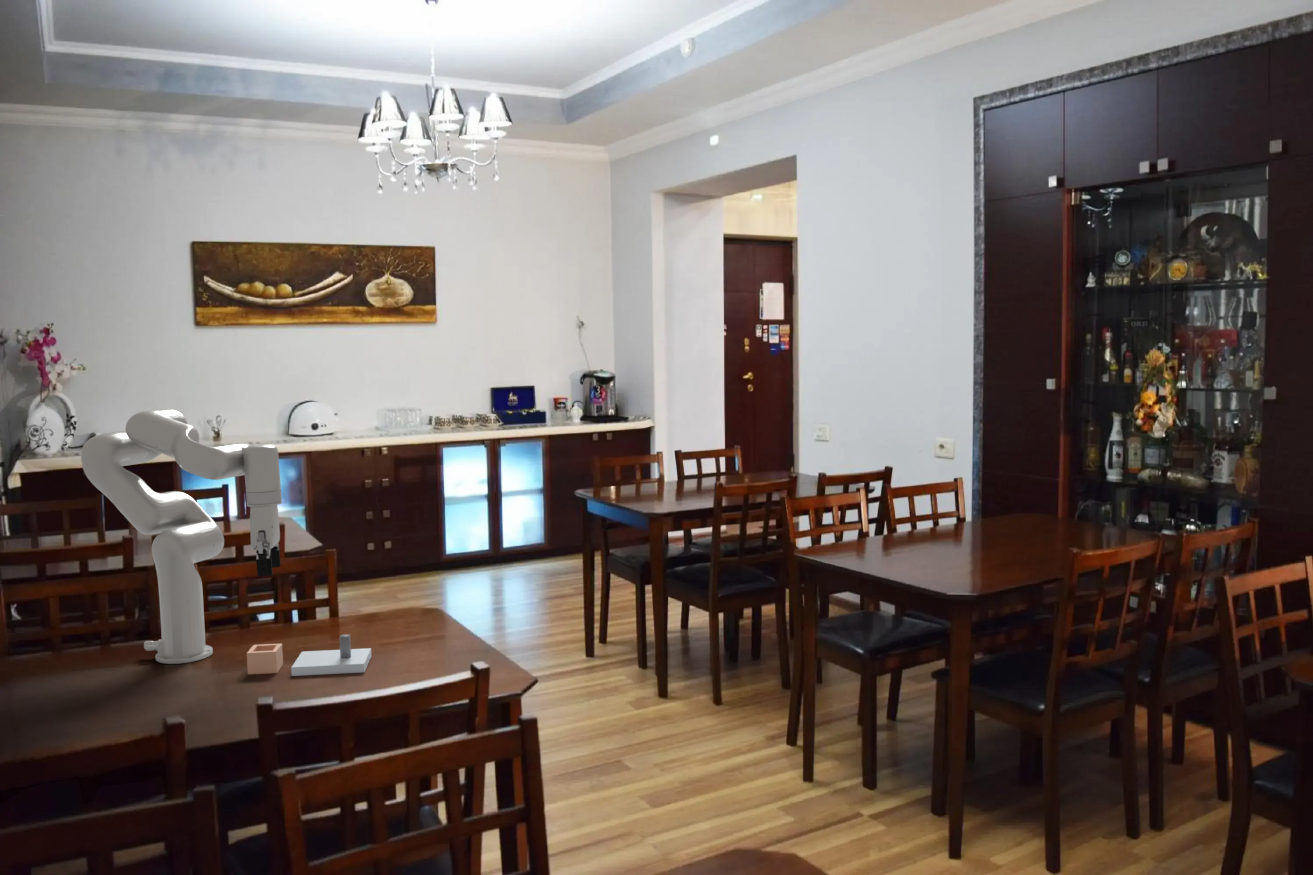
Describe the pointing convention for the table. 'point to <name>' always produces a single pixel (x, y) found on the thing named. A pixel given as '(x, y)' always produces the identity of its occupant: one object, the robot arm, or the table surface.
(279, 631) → the table surface
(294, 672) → the post plate
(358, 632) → the table surface
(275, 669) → the collar
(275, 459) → the robot arm
